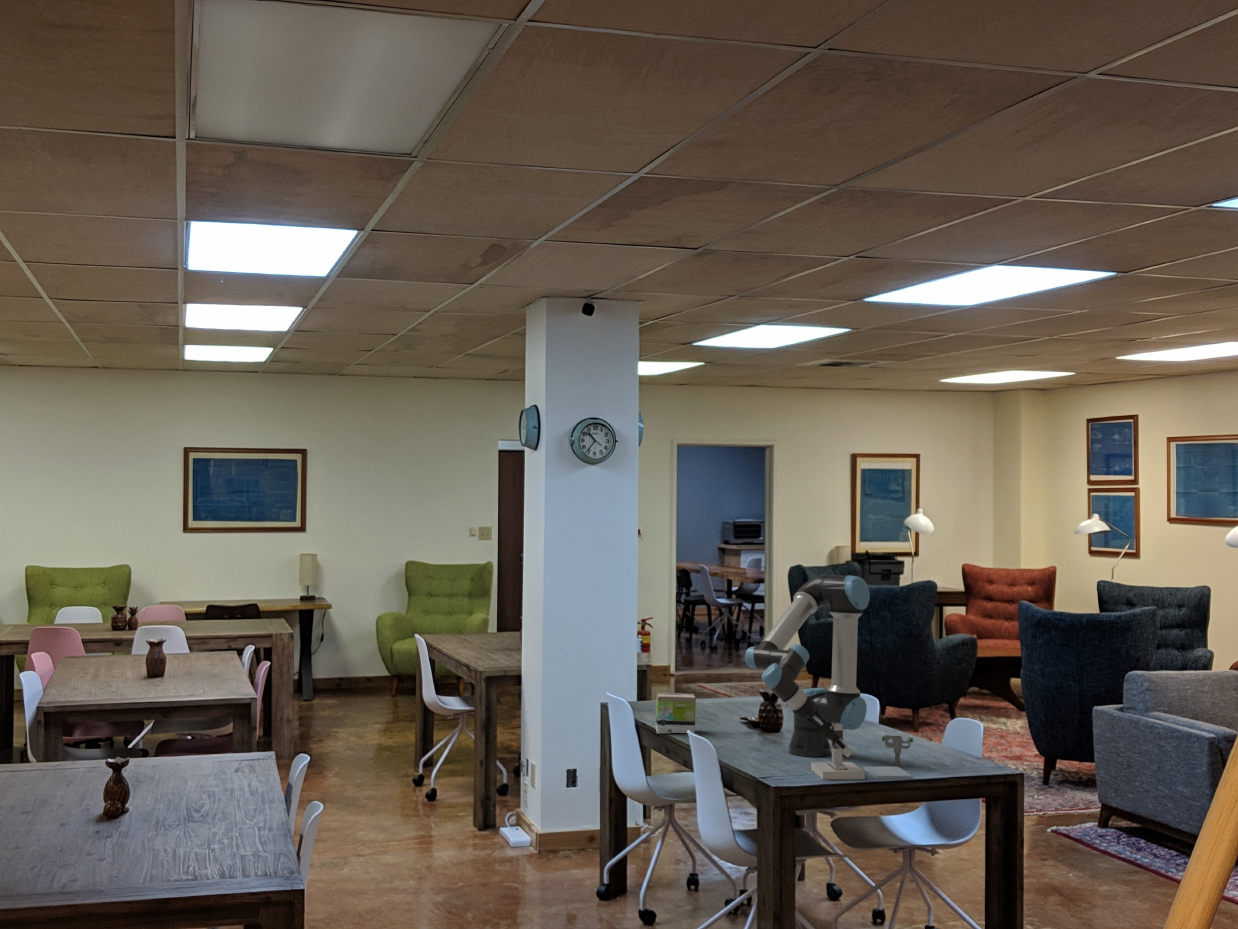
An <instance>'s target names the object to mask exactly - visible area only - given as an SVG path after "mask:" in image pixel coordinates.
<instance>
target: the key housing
mask: <svg viewBox="0 0 1238 929" xmlns="http://www.w3.org/2000/svg"><path fill="white" fill-rule="evenodd" d="M842 763H843V764H844V765H845V770H834V769H833V768H832V767H830V766H829V761H828V762H825V761H824V762H823V761H821V762H811V764H810V765H811V768H810V769H811V771H812V772H813V771H814V772H815V773H814V772H813V773H814V774H816V775H817V776H818V775H819V776H820V777H821V778H820V777H819V776H818V777H819V778H820V779H821V780H865V777H866V776H865V775H866V774H865V773H866V771H864V770H863V768H860V766H857V765H856V764H855V763H853V762H851V761H850V762H845V761H844V762H843V761H842Z"/></svg>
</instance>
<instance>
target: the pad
mask: <svg viewBox="0 0 1238 929" xmlns="http://www.w3.org/2000/svg"><path fill="white" fill-rule="evenodd" d="M862 770H863V771H864V770H865V773H867V772H868V775H870V776H871V775H872V776H871V777H873V778H874V779H875V780H895V779H896V780H912V779H913V776H912V774H911V773H909V772H907V771H905V770H904V769H902V768H901V767H900V766H863V768H862Z"/></svg>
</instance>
